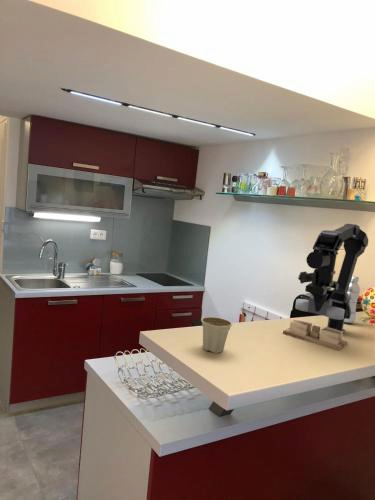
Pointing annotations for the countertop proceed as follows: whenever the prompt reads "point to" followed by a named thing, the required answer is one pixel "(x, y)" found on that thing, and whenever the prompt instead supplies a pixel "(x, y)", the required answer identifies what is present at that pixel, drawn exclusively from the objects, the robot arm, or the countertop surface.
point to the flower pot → (215, 333)
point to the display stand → (316, 334)
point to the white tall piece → (353, 298)
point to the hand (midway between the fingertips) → (319, 310)
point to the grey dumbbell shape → (324, 310)
